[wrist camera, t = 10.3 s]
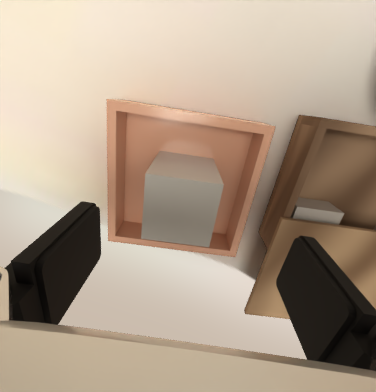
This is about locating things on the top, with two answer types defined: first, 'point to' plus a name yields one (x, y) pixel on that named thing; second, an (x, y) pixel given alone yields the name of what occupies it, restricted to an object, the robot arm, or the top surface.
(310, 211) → the flat grey square block
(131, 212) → the terracotta tray
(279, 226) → the sliding lid wooden box
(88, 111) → the top surface
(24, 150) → the top surface
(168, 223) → the stone block
